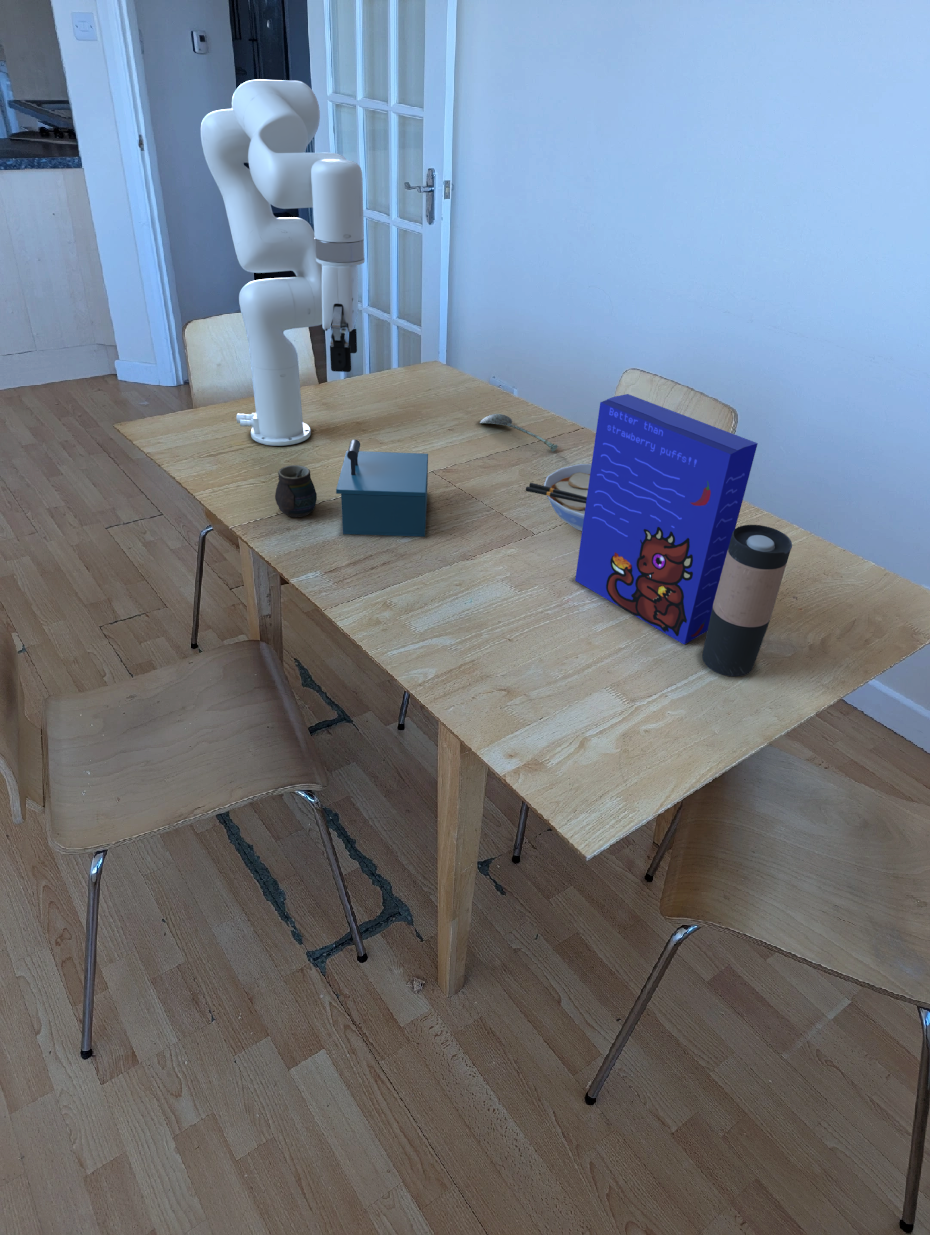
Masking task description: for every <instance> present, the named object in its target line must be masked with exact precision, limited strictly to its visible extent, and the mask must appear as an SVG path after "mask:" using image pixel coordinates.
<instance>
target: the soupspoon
mask: <svg viewBox="0 0 930 1235" xmlns="http://www.w3.org/2000/svg"><path fill="white" fill-rule="evenodd" d="M479 424H489V425H490V424H491V425H498V426H499V425H500V426H506V427H509V428H511V429H516V430H518V431H521V432H523V433H525V434H527V435H529V436H531V437H534V438H535V439H537V440H539V441H540V442H543V443H544V444H545V445H546V446H547V447H549V448H550V451H551V452H553V453H554V452H556V450H557V449H558V448H559V446H558V444H554V443H552V442H550V441H549V440H548V439H544V438H543V437H541V436H539V435H538V434H536V433H533V432H532V431H529V430H527V429H525V428H523V427H521V426H518V425H515V424H513V420H512V418H511V417H510V416H508V415H507V414H502V413H494V414H489V415H488V416H485V417H484V418H482V419H481V420H480V421H479Z"/></svg>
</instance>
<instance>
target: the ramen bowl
mask: <svg viewBox="0 0 930 1235" xmlns="http://www.w3.org/2000/svg"><path fill="white" fill-rule="evenodd" d="M591 465H592V463H578V464H573V465H570V466H564V467H561V468H558V469H557V470H555V471H554V472H552V473H550V474H549V475H547V476H546V477H545V481H544V483H543V484H538V483H534V482H529V485H528V486H526V487H525V492H527V493H528V492H529V493H533V494H539V495H542V496H543V495H544V496H546V497H547V500H548V501H549V503H550V505H551V507H552V508H553V510H554V512H555V513H556V515H557V516H558V517H559V518H560V519H561V520H562V521H564V522H565V523H567V524H568V525H569V526H571V527H573V529H575V530H578V531H581V532H582V528H583V521H584V514H585V507H586V500H587V493H588V486H589V479H590V472H591Z"/></svg>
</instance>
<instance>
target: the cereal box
mask: <svg viewBox="0 0 930 1235" xmlns="http://www.w3.org/2000/svg"><path fill="white" fill-rule="evenodd" d="M597 417H598V418H597V423H596V431H595V436H594V437H595V438H594V444H593V452H592V458H591V464H592V465H591V472H590V479H589V486H588V493H587V500H586V507H585V514H584V521H583V528H582V531H581V536H580V544H579V550H578V557H577V564H576V571H575V572H576V573H575V578H574V579H575V582H577V583H578V584H580V585H582V586H584V587H585V588H587V589H589V590H590V591H592V592H594V593H596V594H597V595H599V596H601V597H602V598H604V599H605V600H608V601H609V602H610V603H613V604H614V605H616V606H618V607H619V608H621V609H622V610H624V611H626V612H627V613H629V614H631V615H632V616H633V615H634V617H636V618H638V619H640V620H641V621H643V622H645V623H646V624H648V625H650V626H651V627H653V628H655V629H657V630H658V631H660V632H662V633H663V634H665V635H666V636H669V637H670V638H672V639H674V640H675V641H677V642H679V643H681V644H682V645H686V644H688V643H691V642H692V641H693V640H695V639H697V638H699V637H701V636H702V635H703V634H705V633H707V630H708V626H709V621H710V616H711V612H712V607H713V603H714V599H715V596H716V592H717V588H718V584H719V581H720V577H721V573H722V570H723V566H724V562H725V558H726V555H727V551H728V547H729V544H730V540H731V536H732V533H733V531H734V530H735V529H736V528H737V524H738V520H739V516H740V512H741V508H742V504H743V501H744V497H745V493H746V490H747V485H748V482H749V478H750V474H751V471H752V467H753V462H754V458H755V455H756V452H757V447H758V442H756V441H753V440H751V439H748V438H745V437H743V436H739V435H738V434H735V433H732V432H729V431H726V430H724V429H722V428H718V427H716V426H713V425H711V424H708V423H706V422H703V421H700V420H697V419H695V418H693V417H690V416H686V415H684V414H682V413H679V412H676V411H675V410H671V409H669V408H666V407H664V406H661V405H658V404H655V403H653V402H650V401H648V400H645V399H642V398H639V397H638V396H634V395H632V394H629V393H627V394H621V395H616V396H612V397H609V398H607V399H605V400H603V401H600V402H599V408H598V415H597Z"/></svg>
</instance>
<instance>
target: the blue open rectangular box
mask: <svg viewBox="0 0 930 1235" xmlns="http://www.w3.org/2000/svg"><path fill="white" fill-rule="evenodd" d="M428 478H429V465H428V466H427V483H426V497H419V496H390V495H361V494H340V501H341V502H340V503H341V521H342V522H341V523H342V524H341V525H342V534H343V535H359V536H361V535H362V536H390V537H391V536H392V537H421V538H423V537H424V538H425V537H426V525H427V506H428V488H429V487H428V484H429V483H428V480H429V479H428Z"/></svg>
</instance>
